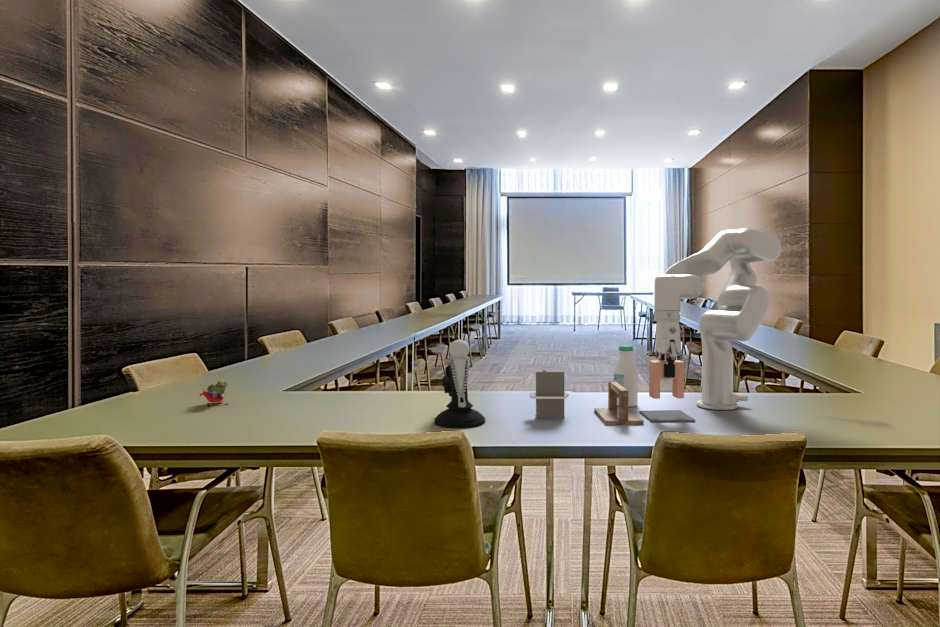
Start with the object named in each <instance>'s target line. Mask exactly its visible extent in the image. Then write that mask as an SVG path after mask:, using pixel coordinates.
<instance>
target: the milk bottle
mask: <svg viewBox="0 0 940 627" xmlns="http://www.w3.org/2000/svg"><path fill="white" fill-rule="evenodd" d="M633 350H634V346H633V345H631V344H622V345H619V346H618V353H619V356H618V358H617V361H616V362H615V366H614V369H613V381H616V382H617V383H618V384H619V385H621V386H622V387H623V388H625V389H627V390H628V408H632V407H636V406H638V401H639V400H638V399H639V398H638V397H639V396H638V393H639V392H638V389H639V388H638V384H639V382H638V380H639V379H638V367H637V364H636V363H635V360H634V357H633V352H634V351H633ZM617 407H619V394H617Z"/></svg>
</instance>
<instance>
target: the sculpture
mask: <svg viewBox="0 0 940 627" xmlns="http://www.w3.org/2000/svg"><path fill="white" fill-rule="evenodd" d="M448 353H449V354H450V356H449V364H448V365H447V366H446V367H445V370H444V373H445V374H444V376H443V377H442V379H441V384H442V387H443V390H444V391H443V392H444V394H448V396H449V397H450V399H451V400H450V402H449V403H448V404H446V409H445V410H443V411H441V412H440V413H438V414H437V415H436V417H435V418H434V424H435V426H438V427H441V428H447V429H468V428H469V429H470V428H476V427H480V426H482V425H485V424H486V417H485V416H484V415H483V414H482V413H481V412H480V411H478V410H476V409H473V407H474V405H473V404H472V402H470V401H469V400H468V399H469V398H468V395H469V394H468V380H469V379H468V377H469V375H468V374H469V371H470V370H469V368H470V363H469V362H470V360H469V357H468V355H469V354H470V345H469V343H468V342H467V341H465V340H463V339H455V340H454V341H452V342H451V343H450V344H449V346H448Z"/></svg>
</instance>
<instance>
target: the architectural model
mask: <svg viewBox="0 0 940 627" xmlns="http://www.w3.org/2000/svg"><path fill="white" fill-rule="evenodd" d="M569 396H570V394H569V393H568V392H565V370H562V371H547V370H546V369H544V370H542V371H535V392H530V393H529V398H530V399H535V419H565V399H566V398H568V397H569Z"/></svg>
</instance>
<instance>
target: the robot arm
mask: <svg viewBox="0 0 940 627" xmlns="http://www.w3.org/2000/svg"><path fill="white" fill-rule="evenodd" d="M781 253H782V245H781V242H780V240H779V239H778V237H776V236H775V235H772V234H769V233H765V232H763V231H760V230H757V229H754V228H735V229H734V228H733V229H726V230H721V231H720V232H718V233H717V234H716V235H715V236H714V237H713V238H712V239H711V240H710V241H709V242H708V243H707V244H706V245H705V246H704V247H703V248H702V249H701V250H700V251H698V252H697V253H693V254H692V255H690V256H688V257H685V258H683V259H681V260H679V261H677V262H676V263H674V264H673V265H671V266H670V267H669V268H668V269H667V270H666V271H665V272H664V273H663V274H662V275H657V276H656V277H655V279H654V313H653V315H654V316H653V317H654V322H656V329H655V330H656V331H655V349H656V351H657V352H658V360H665V364H664V377H666V378H667V377H675V360H677V359H676V358H677V356H678V355H680V354H681V350H682V349H681V345H682V344H681V328H680V322H681V299H682V300H683V299H685V300H687V299H688V300H692V299H693V300H694V299H697V298H699V297H700V296H702V294H703V293H704V291H705V282H704V280H703V279H702V278H703V277H707V276H710V275H713V274H715V273H718V272H719V271H720V270H722V268H723V267H724V266H725V265H726V264H727V263H728V262H729V264H730V275H729V277H728V279H727V281H726V283H725V284H724V286H723V288H722V290H721V292H720V293H719V295H718V297H717V300H716V304H717V305H716V306H717V308H718V309H712V310H708V311H706V312H704V313H703V314H701V316H700V318H699V322H698V327H699V333H700V339H701V349H702V350H701V352H702V353H701V355H702V356H701V399H699V400H697V401H696V406H697V407H700V408H702V409H707V410H714V411H731V410H735V409H737V408H739V404H738V402H739V401H740V402H747V401H748V400H749V397H748V395H747V394H743V395H742V394H736V393H735V392H734V391H733V390H734V351H733V347H732V346H731V344H730V342H729V341H732V342H747V341H750V340H751V339H752V338H753V337H754V336H755V334H756V332H757V331H758V329H759V326H760V325H761V323H762V322H763V320H764V317H765V316H766V314H767V311H768V309H769V306H770V295H769V292H768V291H767V289H766V288H764V287H762V286H760V285H756V284H757V282H758V280H757V275H756V273H755V271H754V269H753V268H752V266H751V264H750V263H771V262H774V261H776V260H778V259H779V257H780V256H781Z"/></svg>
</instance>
